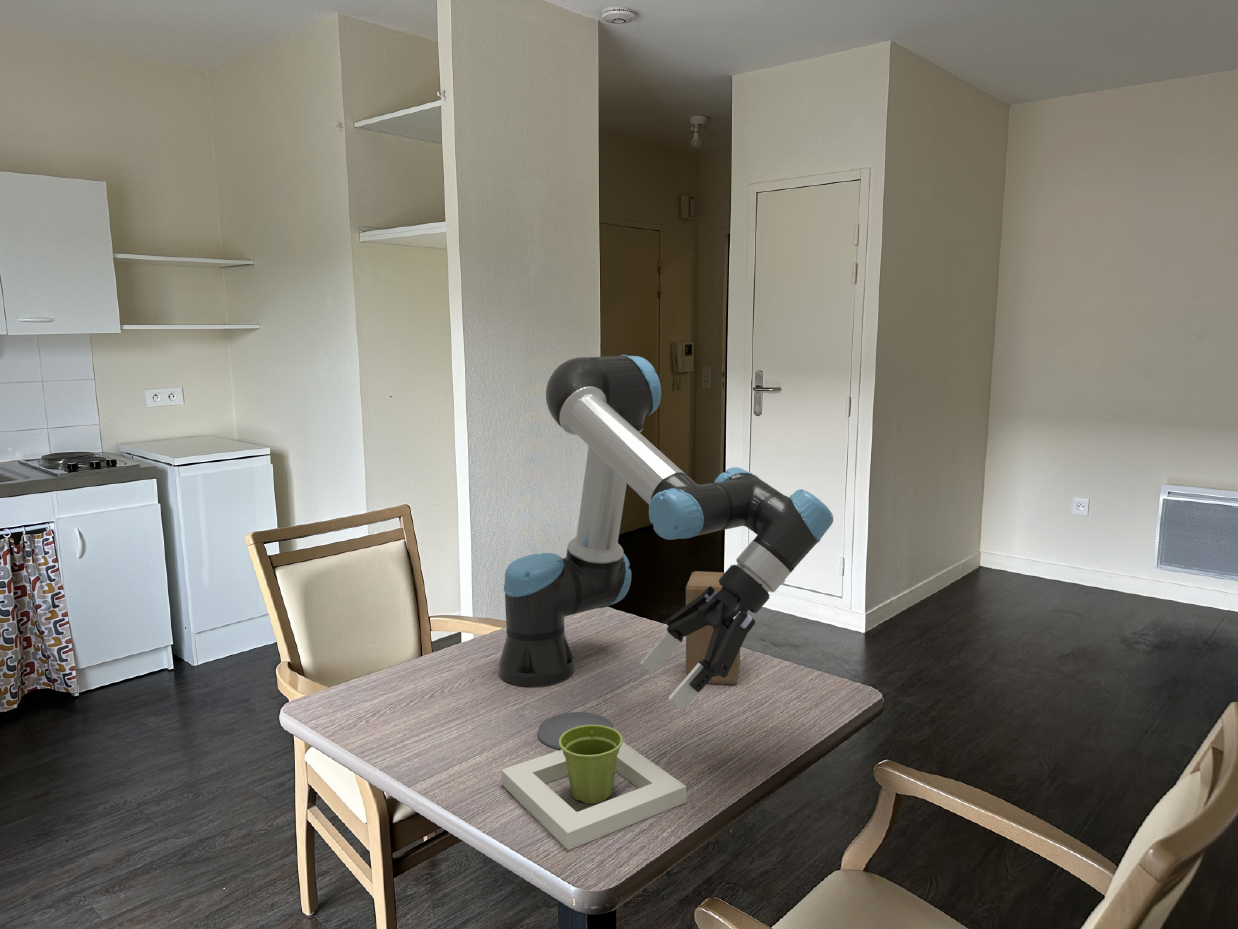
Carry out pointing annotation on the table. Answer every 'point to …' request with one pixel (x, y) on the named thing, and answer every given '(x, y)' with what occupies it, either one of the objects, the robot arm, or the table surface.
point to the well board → (602, 818)
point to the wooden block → (705, 628)
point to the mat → (567, 726)
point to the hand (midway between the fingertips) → (660, 685)
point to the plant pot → (591, 761)
